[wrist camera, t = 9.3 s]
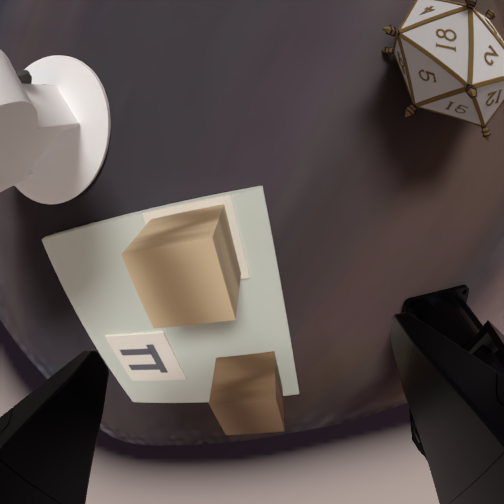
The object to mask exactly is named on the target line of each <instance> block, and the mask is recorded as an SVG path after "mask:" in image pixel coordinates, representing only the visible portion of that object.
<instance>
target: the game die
mask: <svg viewBox="0 0 504 504" xmlns="http://www.w3.org/2000/svg"><path fill="white" fill-rule="evenodd" d="M465 1H466V3H467V4H462V3H458V2H453V1H448V0H415V1H414V3H413V5H412V6H411V8H410V10H409V11H408V13H407V15H406V17H405V18H404V20H403V22H402V23H401V25H400V27H399V28H398V30H397V29H395V27H391V25H389V26H387V27H383V30H384V31H385V32H386V34H388V35H391V36H395V42H394V48H393V49H392V48H388V47H385V49H383V50H382V51H383V52H384V53H386V54H387V55H392V54H394V56H395V58H396V60H397V63H398V65H399V68H400V70H401V73H402V76H403V78H404V81H405V84H406V86H407V89H408V92H409V95H410V98H411V101H412V105H410V106H408V107H407V109H406V108H405V109H406V111H405V117H407V116H410V115H412V116H413V113H415V110H416V108H420V109H424V110H428V111H432V112H435V113H439V114H442V115H446V116H449V117H453V118H456V119H459V120H462V121H465V122H468V123H472V124H474V125H477V126H480V127H481V128H482V133H483V137H485V138H486V140H487V141H488V142H489V139H490V135H491V134H490V132H489V130H488V128H487V126H486V125H487V124H488V123H489V121H490V120H491V119H492V117H493V116H494V115H495V113H496V112H497V111H498V109H499V108H500V107H501V105H502V104H503V102H504V40H503V38H502V37H501V35H500V33H499V32H498V30H497V29H496V28H495V26H494V25H493V23H492V22H491V19H493V18H495V16H494V10H488V11H487V13H486V16H485V15H484V14H482V13H481V12H479V11H478V10H476V9H474V8H473V7H475V5H476V2H477V0H465Z"/></svg>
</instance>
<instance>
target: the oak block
mask: <svg viewBox="0 0 504 504" xmlns="http://www.w3.org/2000/svg"><path fill="white" fill-rule="evenodd" d="M121 255H122V257H123V260H124V262H125V265H126V267H127V269H128V272H129V274H130V277H131V279H132V282H133V284H134V286H135V289H136V291H137V293H138V295H139V298H140V300H141V302H142V304H143V307H144V309H145V311H146V313H147V315H148V318H149V320H150V322H151V324H152V326H153V328H165V327H176V326H186V325H196V324H205V323H214V322H222V321H230V320H236V313H237V304H238V295H239V287H240V278H241V271H240V267H239V263H238V259H237V255H236V251H235V247H234V243H233V239H232V235H231V230H230V226H229V222H228V218H227V214H226V210H225V206H224V204H222V205H217V206H212V207H207V208H202V209H197V210H192V211H187V212H182V213H177V214H173V215H168V216H163V217H159V218H154V219H151V220H150V221H149V222H148V223H147V224H146V225H145V227H144V228H143V229H142V230H141V231H140V232H139V234H138V235H137V236H136V237H135V238H134V240H133V241H132V242H131V243H130V244H129V246H128V247H127V248H126V249H125V250H124V252H123V253H122V254H121Z"/></svg>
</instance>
